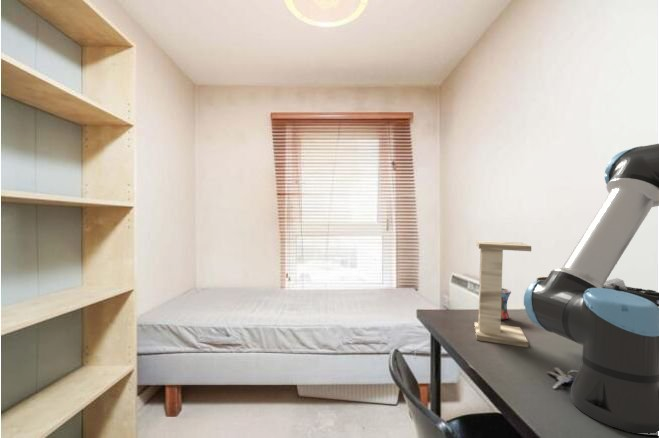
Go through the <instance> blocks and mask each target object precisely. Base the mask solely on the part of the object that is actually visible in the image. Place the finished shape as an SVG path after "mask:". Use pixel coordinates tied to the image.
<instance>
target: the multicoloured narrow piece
mask: <svg viewBox="0 0 659 438" xmlns="http://www.w3.org/2000/svg"><path fill="white" fill-rule="evenodd" d="M511 294H512V291H511V290H510V289H508V288H507V289H506V288H503V287H502V295H501V320H507V319H509V318H510V314H509V312H508V308H507V307H508V300H509V297H510V295H511Z"/></svg>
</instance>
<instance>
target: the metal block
mask: <svg viewBox="0 0 659 438" xmlns="http://www.w3.org/2000/svg"><path fill="white" fill-rule="evenodd" d="M604 285H609V286H613V287H614V288H613V289H615V285H618V286H619V288H620V289H626V290H627V288H626V287H627V285H626V284H625V281H624V280H623V279H621V278H617V277H616V278H612V279H608V280H606V281H605V283H604Z"/></svg>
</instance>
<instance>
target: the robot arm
mask: <svg viewBox="0 0 659 438" xmlns="http://www.w3.org/2000/svg"><path fill="white" fill-rule="evenodd" d="M604 170H605V171H604V174H606V175H605V176H604V181H605V184H606V187H605V188H606V190H607V192H608V193H609V194H608V196H607V197H606V198H605V200H604V202H603V203H602V204H601V206H600V208H599V210H598V211H597V213H596V214H595V215H594V217H593V219H592V220H591V222H590V224H589V225H588V226H587V228H586V229H585V231H584V232H583V234H582V236H581V237H580V239H579V241H578V242H577V244H575V245H576V246H575V247H574V249H573V250H572V252H570V255H569V256H568V258H567V259H566V261H565V262H564V264H563V265H562V267H559V268H555V269H552V270H551V271H550V273H549V274H548V275H547V276H546V277H547V279H546V280H538V281H537V280H535V281H533V282H531V283H530V284H529V285H528V286H527V287H526V289H525V292H524V296H523V306H524V310H525V311H524V312H525V314H526V316H527V317H528V319H529V320H530V321H531V322H532V323H533V324H535V325H536V326H538V327H540V328H542V329H544V331H546V332H549V333H553V334H556V335H558V336H560V337H562V338H565V339H567V340H569V341H572V342H574V343H576V344H578V345H581V346H582V350H581V351H582V353H581V354H582V358H581V359H582V360H581V364H580V368H579V369H578V371H577V373H576V376H575V378H574V379H573V382H572V384H571V386H570V401H571V403H572V404H573V405H574V406H575V407H576V408H577V409H578V410H579V411H581V412H582V413H583V414H585V415H586V416H588V417H590V418H592V419H593V420H595V421H598V422H600V423H601V424H605V425H607V426H609V427H612V428H614V427H615V428H614V429H617V428H618V429H617V430H620V429H621V430H620V431H623V430H624V432H627V433H630V432H632V433H631V434H634V433H648V434H650V433H656V432H657V431H659V291H656V290H653V289H644V288H638V287H632V286H626V288H627V290H626V289H620V288H619V286H618V285H615V289H613V288H614V287H613V286H609V285H604V283H605V281H608V280H607V279H608V278H609V276H610V275H611V274H612V271H613V270H614V269H615V267H616V265H617V264H618V262H619V260H620V259H621V258H622V256H623V254H624V253H625V251H626V249H627V248H628V246H629V245H630V243H631V241H632V240H633V238H634V237H635V235H636V234H637V232H638V230H639V229H640V227H641V225H642V224H643V222H644V221H645V219H646V218H647V216H648V214H649V213H650V211H651V209H652V208H655V207H656V208H657V207H659V143H654V144H648V145H641V146H635V147H632V148H629V149H625V150H622V151H620V152H618V153H617V154H615V155H614V156H613V157H612V158H611V159H610V160H609V161H608V162H607V164H606V167H605V169H604Z"/></svg>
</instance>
